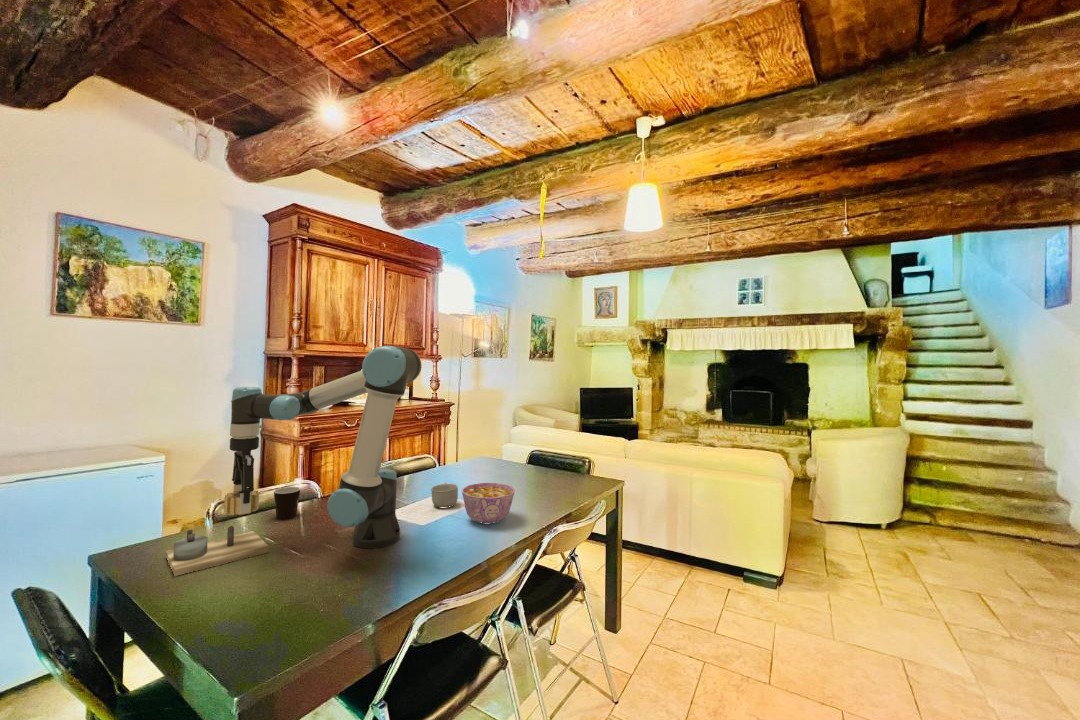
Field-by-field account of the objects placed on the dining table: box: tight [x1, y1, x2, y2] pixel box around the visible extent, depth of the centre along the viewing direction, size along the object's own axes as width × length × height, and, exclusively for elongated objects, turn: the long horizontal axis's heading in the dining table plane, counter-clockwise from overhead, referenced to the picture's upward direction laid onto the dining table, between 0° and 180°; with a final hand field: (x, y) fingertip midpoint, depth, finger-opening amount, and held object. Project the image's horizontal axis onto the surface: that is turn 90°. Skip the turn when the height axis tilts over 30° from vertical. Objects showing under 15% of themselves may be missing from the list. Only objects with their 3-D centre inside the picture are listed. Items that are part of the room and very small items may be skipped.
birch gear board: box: [165, 525, 269, 577], centre depth 130 cm, size 16×22×8 cm
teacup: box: [430, 482, 459, 508], centre depth 181 cm, size 14×11×8 cm
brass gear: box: [223, 489, 260, 516], centre depth 135 cm, size 9×9×5 cm
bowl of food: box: [461, 482, 516, 523], centre depth 164 cm, size 20×20×12 cm
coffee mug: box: [273, 486, 301, 521], centre depth 164 cm, size 12×9×10 cm
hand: (241, 509), depth 135 cm, fingers closed on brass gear, 9 cm apart
